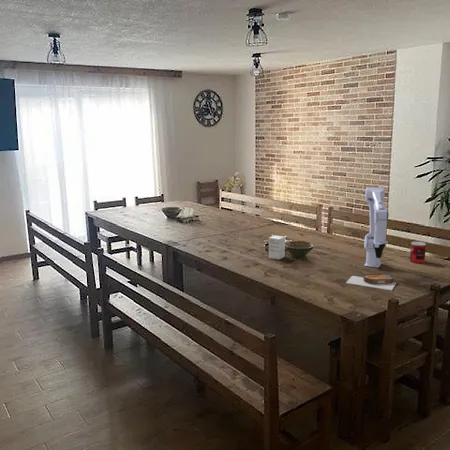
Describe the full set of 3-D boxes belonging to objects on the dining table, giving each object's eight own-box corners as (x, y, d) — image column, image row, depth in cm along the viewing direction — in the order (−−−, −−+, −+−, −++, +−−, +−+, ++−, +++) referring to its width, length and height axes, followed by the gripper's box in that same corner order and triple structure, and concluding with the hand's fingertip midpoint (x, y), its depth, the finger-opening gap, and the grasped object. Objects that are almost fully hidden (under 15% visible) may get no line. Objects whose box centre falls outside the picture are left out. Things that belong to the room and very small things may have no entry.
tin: (390, 273, 231) (396, 277, 223) (389, 279, 231) (396, 283, 223) (361, 273, 230) (366, 278, 222) (360, 279, 231) (366, 284, 223)
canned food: (413, 258, 266) (414, 240, 263) (426, 261, 260) (428, 243, 258) (407, 261, 261) (408, 243, 258) (421, 264, 255) (422, 245, 253)
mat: (352, 276, 236) (352, 275, 236) (396, 283, 225) (396, 282, 225) (345, 283, 226) (345, 282, 226) (391, 290, 215) (391, 289, 215)
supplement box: (274, 255, 277) (274, 235, 274) (285, 256, 273) (285, 236, 270) (268, 257, 271) (268, 237, 268) (279, 259, 267) (279, 239, 264)
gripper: (385, 236, 225) (383, 262, 228) (390, 230, 237) (389, 255, 240) (371, 234, 229) (369, 260, 232) (377, 229, 241) (375, 253, 244)
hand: (378, 257), depth 236 cm, fingers closed
